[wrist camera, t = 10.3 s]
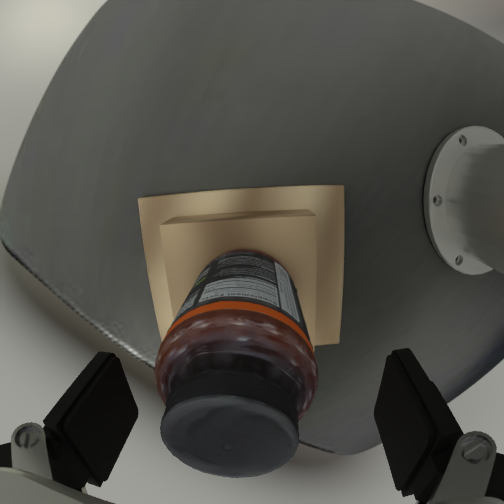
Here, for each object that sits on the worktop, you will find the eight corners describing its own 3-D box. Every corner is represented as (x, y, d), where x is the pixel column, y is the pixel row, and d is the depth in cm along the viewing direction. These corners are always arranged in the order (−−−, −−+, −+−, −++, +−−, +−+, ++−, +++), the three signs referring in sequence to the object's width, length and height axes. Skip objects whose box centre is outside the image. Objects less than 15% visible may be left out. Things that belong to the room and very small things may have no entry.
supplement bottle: (278, 345, 19) (288, 501, 8) (188, 322, 19) (126, 466, 8) (309, 261, 17) (371, 396, 6) (209, 233, 17) (127, 340, 6)
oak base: (340, 184, 20) (357, 188, 16) (336, 336, 23) (347, 365, 19) (143, 197, 21) (119, 204, 17) (166, 342, 24) (152, 370, 20)
